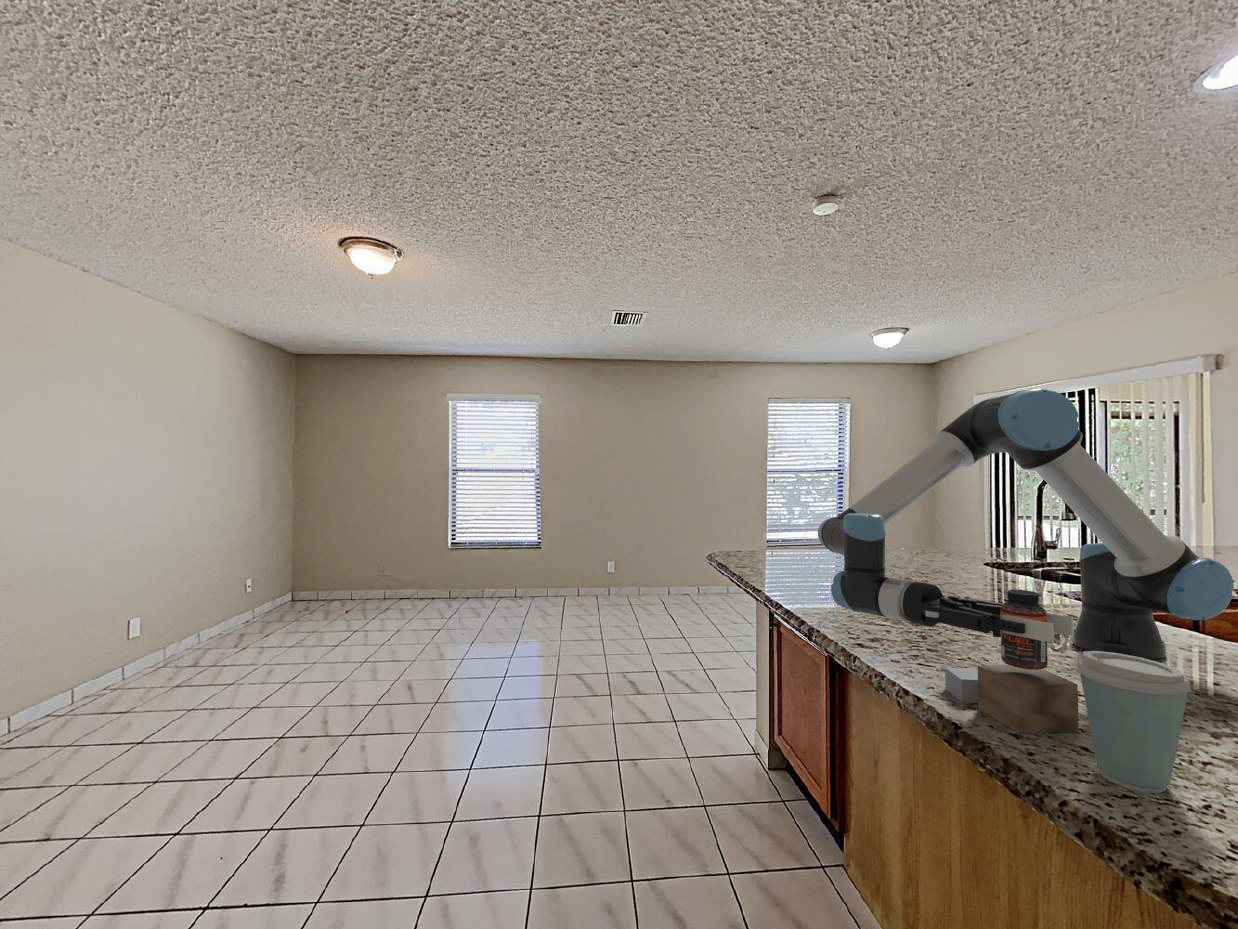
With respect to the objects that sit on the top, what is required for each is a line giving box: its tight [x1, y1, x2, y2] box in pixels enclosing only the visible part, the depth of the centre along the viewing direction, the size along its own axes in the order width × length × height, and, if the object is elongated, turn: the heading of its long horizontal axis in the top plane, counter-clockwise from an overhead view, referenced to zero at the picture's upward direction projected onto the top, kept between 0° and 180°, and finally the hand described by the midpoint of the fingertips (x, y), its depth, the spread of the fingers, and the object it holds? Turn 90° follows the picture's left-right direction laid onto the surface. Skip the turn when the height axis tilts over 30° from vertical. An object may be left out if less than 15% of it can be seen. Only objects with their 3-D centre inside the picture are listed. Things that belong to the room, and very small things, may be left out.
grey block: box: [944, 667, 979, 704], centre depth 98 cm, size 6×6×4 cm
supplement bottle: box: [1000, 589, 1049, 670], centre depth 89 cm, size 6×6×11 cm
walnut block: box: [977, 664, 1080, 735], centre depth 88 cm, size 9×9×7 cm
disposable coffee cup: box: [1076, 650, 1192, 794], centre depth 70 cm, size 11×11×15 cm
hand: (1062, 629), depth 84 cm, fingers closed on supplement bottle, 6 cm apart
